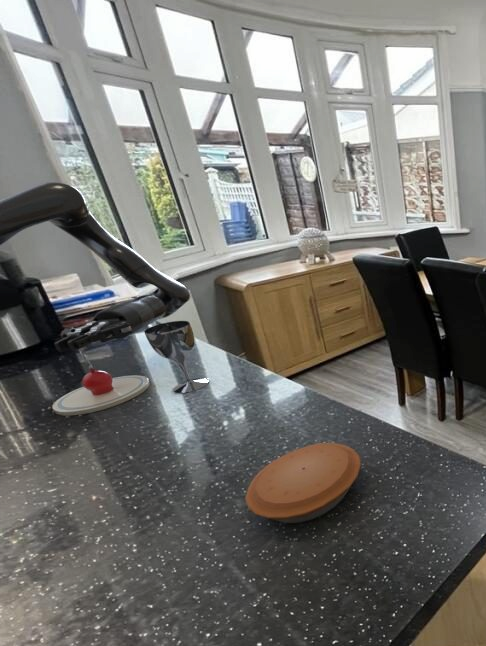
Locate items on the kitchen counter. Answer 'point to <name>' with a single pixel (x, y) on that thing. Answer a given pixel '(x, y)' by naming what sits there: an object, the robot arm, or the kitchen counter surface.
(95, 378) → the red bulb with handle
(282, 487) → the pie
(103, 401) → the plate
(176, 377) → the kitchen counter surface
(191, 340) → the wine glass
